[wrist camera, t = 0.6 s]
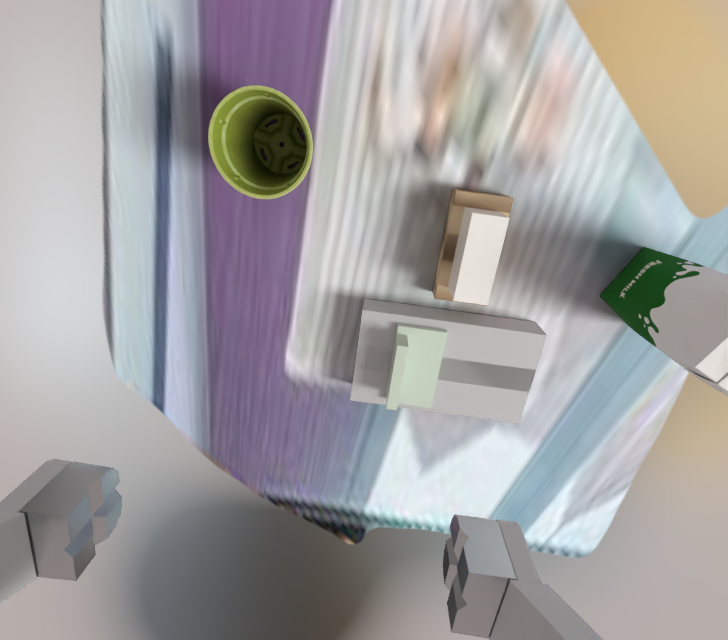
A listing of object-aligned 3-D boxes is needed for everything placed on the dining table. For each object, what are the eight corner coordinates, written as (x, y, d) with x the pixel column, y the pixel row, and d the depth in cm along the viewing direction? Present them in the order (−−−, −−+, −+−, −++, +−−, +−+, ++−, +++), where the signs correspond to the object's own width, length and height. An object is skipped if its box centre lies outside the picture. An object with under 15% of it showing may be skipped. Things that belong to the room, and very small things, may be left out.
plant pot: (269, 205, 49) (246, 217, 41) (221, 125, 46) (187, 121, 38) (341, 164, 47) (331, 168, 39) (296, 77, 44) (275, 62, 36)
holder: (452, 188, 47) (456, 190, 45) (507, 195, 47) (513, 198, 45) (432, 291, 52) (434, 298, 50) (482, 298, 52) (486, 305, 50)
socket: (364, 298, 53) (362, 309, 49) (535, 321, 53) (546, 335, 49) (352, 383, 57) (350, 400, 53) (510, 405, 57) (519, 423, 54)
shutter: (397, 323, 49) (398, 336, 46) (446, 329, 49) (451, 344, 46) (385, 398, 53) (385, 416, 50) (430, 404, 53) (433, 422, 50)
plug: (461, 204, 48) (472, 212, 42) (493, 208, 48) (509, 217, 42) (445, 282, 51) (453, 300, 45) (475, 286, 51) (487, 305, 45)
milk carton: (643, 336, 53) (781, 438, 34) (586, 296, 51) (699, 381, 33) (701, 278, 50) (887, 356, 31) (643, 234, 48) (802, 289, 30)
